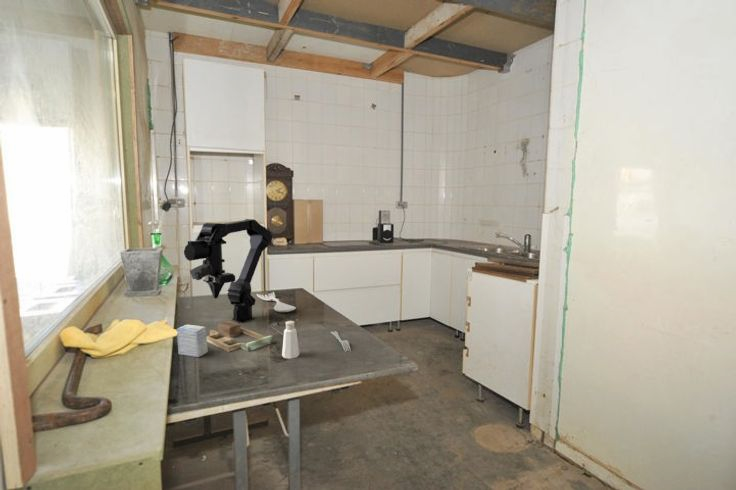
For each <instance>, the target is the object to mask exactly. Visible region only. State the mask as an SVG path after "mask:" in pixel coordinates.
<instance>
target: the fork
mask: <svg viewBox="0 0 736 490" xmlns="http://www.w3.org/2000/svg"><path fill="white" fill-rule="evenodd" d="M330 334H332V335H333V336H334V337H335V338H336V340H338V342H339V343H340V344H341V346H342V348H343V351H344V352H345V353H346V352H347V351H349V352H352V351H351V346H350V343H349V340H347V339H344V340H342V339H341V337H340V335H339V333H338V331H336V330H334V331H330Z"/></svg>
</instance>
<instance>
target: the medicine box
mask: <svg viewBox="0 0 736 490" xmlns="http://www.w3.org/2000/svg"><path fill="white" fill-rule="evenodd" d="M177 332H178V333H177ZM207 336H208V335H207V327H206V326H202V325H196V324H195V325H193V324H184V325H183V326H180V327H178V328H176V338H177V350H178V351H177V352H178V353H177V354H178V355H183V356H188V357H194V358H195V357H196V358H200V357H202V356H204V355H205V354H207V353H208V342H207Z"/></svg>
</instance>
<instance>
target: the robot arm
mask: <svg viewBox="0 0 736 490" xmlns="http://www.w3.org/2000/svg"><path fill="white" fill-rule="evenodd" d="M243 231H246V233H247V235H248V237H250V238H249V244H250V249H249V250H248V254H247V255H246V258H245V261H244V264H243V267H242V269H241V272H240V274H239V276H238V279H237V280H236V275H235V274H234V273H231V272H226V270H225V269H223V268H224V267H223V263H225V261H226V260H225V259H223V249H222V248H223V247H222V245H226V244H227V241H226V240H224V238H225V237H227V236H228V235H229V234H233V233H238V232H239V233H240V232H243ZM272 239H273V235H272V232H271V231H270V230H269V229H268V228H267V227H265V226H263V225H262V224H260V223H259V222H258V221H257V220H255V219H249V218H246V219H244V220H237V221H231V222H225V223H220V222H219V223H217V222H215V223H214V222H205V223H203V225H202V227H201V229H200V231H199V233H198V235H197V237H196V238H195V240H187V244H186V245H185V246H184V250H183V254H184V257H185V259H186V260H188V261H189V262H191V261H197V260H202V264H200V265H197V266H196V267H194V268H192V269H190V270H189V273H190V276H191V278H192V280H195V281H200V280H202V281H203V282H204V283H206V284H207V285H208V287H209V289H210V292H211V294H212V297H213V299H218V297H219V295H220V293H221V291H222V289H223V286H224V285H225V284H228V283H230V284H229V287H228V289H227V298H228V300H229V302H230V304H231V305H233V307H234V308H233V310H232V312H233V313H232V315H233V317H232V321H236V322H238V323H245V322H248V321H251V320H255V316H253V306H255V305H256V298H255V297H254V296H253V295H251V293H252V286H251V285H252V284H251V282H252V280H253V276H254V275H255V271H256V269H257V266H258V263H259V261H260V258H261V255H262V253H263V251H264V250H265V249H267V248H268V247H269V245H270V243H271V241H272ZM203 278H204V279H203Z"/></svg>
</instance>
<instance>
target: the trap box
mask: <svg viewBox="0 0 736 490" xmlns="http://www.w3.org/2000/svg"><path fill="white" fill-rule="evenodd" d="M240 333H241V334H244V335H247V336H248V337H252V338H255V339H254V340H253V341H249V342H247V343H245V342H240V343H239V342H237V343H235V339H234V337H232V338H231V337H228V336H226V337H225V336H222V337H221V335H220V333H219V332H218V331H216V330H213V329H211V330H209V335H207V343H209V344H211V345H214V346H215V347H217V348H219V349H221V350H223V351H226V352H227V353H229V352H232V351H235V350H238V349H242V350H244V351H246V352H251V351H253V350H256V349H259V348H262V347H265V346H267V345H271V344H273V336H272V335H268V336H267V335H263V334H261V333H258V332H255V331H253V330H250V329H247V328H245V327H242V326H240ZM220 337H221V338H220Z"/></svg>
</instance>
